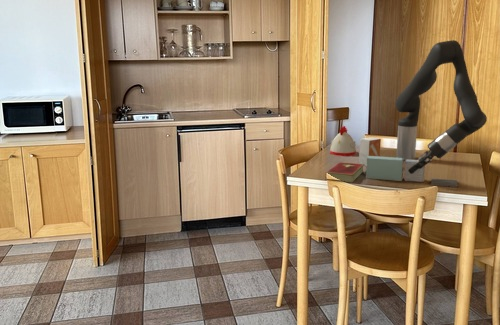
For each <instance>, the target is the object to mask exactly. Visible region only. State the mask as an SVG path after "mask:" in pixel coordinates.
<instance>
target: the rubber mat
mask: <svg viewBox="0 0 500 325" xmlns="http://www.w3.org/2000/svg"><path fill="white" fill-rule="evenodd" d="M430 182H431V184H430V185H431V186H436V185H438V187H448V186H450V187H451V188H452V187H453V188H458V180H456V179H443V178H434V177H433V178H432V177H431V181H430ZM450 187H449V188H450Z"/></svg>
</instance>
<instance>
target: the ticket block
mask: <svg viewBox="0 0 500 325" xmlns="http://www.w3.org/2000/svg"><path fill="white" fill-rule="evenodd" d="M404 161H405V160H404V158H396V156H395V157H391V156H380V157H379V156H368V157H367V166H366V173H365V179H371V180H372V179H373V180H386V181H387V180H388V181H399V182H402V180H403V177H404V176H403V175H404Z"/></svg>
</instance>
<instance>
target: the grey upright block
mask: <svg viewBox="0 0 500 325" xmlns="http://www.w3.org/2000/svg"><path fill="white" fill-rule="evenodd" d="M417 162H418V160H417V159H414V160H405V164H404V165H405V166H404V167H405V168H404V181H405V182H416V183H417V182H419V183H420V182H421V183H423V182H425V168H426V165H425V166H423V167H422V168H421V169H417V170H416V171H415V172H414V173H412V174H411V173H410V172H409V171H408V170H409V169H410V168H411V167H412V166H414V165H415V164H416V163H417ZM419 164H420V165H422V164H421V163H419Z"/></svg>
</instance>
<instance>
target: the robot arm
mask: <svg viewBox="0 0 500 325" xmlns="http://www.w3.org/2000/svg"><path fill="white" fill-rule="evenodd" d="M450 63H452V64H453V66H454V67H453V68H454V69H455V75H454V82H453V92H454V95H455V97H456V99H457V102H458V104H459V106H460V109H461V113H462V117H463V118H464V119H463V120H462V121H460V122H458V123H455V124H453V125H452V126H450V127H449V128H447V130H445V131H444V132H442V133H441V134H439V135H438V136H436V137H435V138H434V139H433V140H431V142H429V143H428V144H427V149H429V150H426V151H424V152H423V154H421V155H419V157H417V158H416V147H417V136H418V135H417V134H418V133H417V131H418V122H419V116H420V108H421V98H420V96H421V95H424V94H425V93H427V92H429V91H430V89H431V88H432V87H433V86H434V84H435V83H436V82H437V77H438V75H437V74H438V73H437V72H436V70H437V68H439V67H440V66H441V65H445V64H446V65H447V64H450ZM467 67H468V66H467V64H466V59H465V56H464V52H463V48H462V46H461V44H460V43H459V41H457V40H453V39H452V40H445V41H438V42H436V43H435V44H434V45H433V46H432V47H431V49H430V51H429V53H428V55H427V56H426V58H425V60H424V62H423V64H422V65H421V66H420V68H419V70H418V71H416V74H414V76H413V78H412V80H411V81H410V82H409V83H408V84H407V86H406V87H405V89H404V90H402V91H401V92H400V93H399V95H398V96H397V98H396V101H395V109H396V110H397V112H399V113H408V114H407V115H406V116H404V117H402V118H399V119H398V122H397V123H398V125H397V137H396V138H397V139H396V140H397V142H396V156H395V158H404V161H406V160H418V162H417V163H416V164H415V165H414V166H412V167H411V168H410V169H409V170H408V171H409V172H410V173H411V174H412V173H414V172H415V171H416V170H417V169H421V168H422V167H423V166H425V167H426V165H428V164H429V163H430V162H432V161H433V160H434V159H433V158H434V157H435V158H437V159H441V158H443V157H444V156H445V155H447V154H448V153H449V152H450V151H451V150H453V149H454V148H456V146H457V145H458V144H460V143H461V141H463V140H465V138H467V137H468V136H470V135H472V134H473V133H474V134H475V133H476V132H477V131H479V130H480V129H482V128H483V127H484V126H485V125H486V122H487V120H488V118H487V114H486V113H485V112H483V110H482V108H481V107H480V105H479V102H478V96H477V94H476V92H475V89H474V87H473V85H472V82H471V79H470V76H469V73H468V68H467ZM419 163H421V164H422V165H420V164H419Z"/></svg>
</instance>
